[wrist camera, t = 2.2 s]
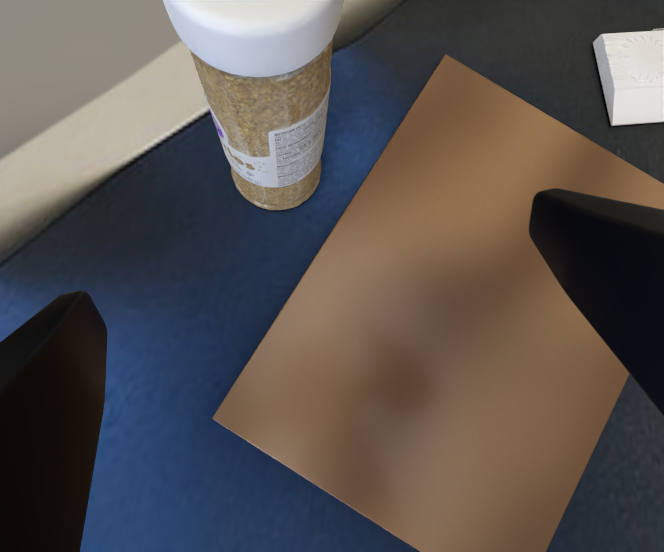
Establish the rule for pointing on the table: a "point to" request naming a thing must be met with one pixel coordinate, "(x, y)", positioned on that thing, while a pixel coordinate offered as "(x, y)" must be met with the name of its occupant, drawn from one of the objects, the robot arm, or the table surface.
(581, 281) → the robot arm
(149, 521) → the table surface
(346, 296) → the cork placemat
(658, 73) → the white plastic blade
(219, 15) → the sprinkles bottle
